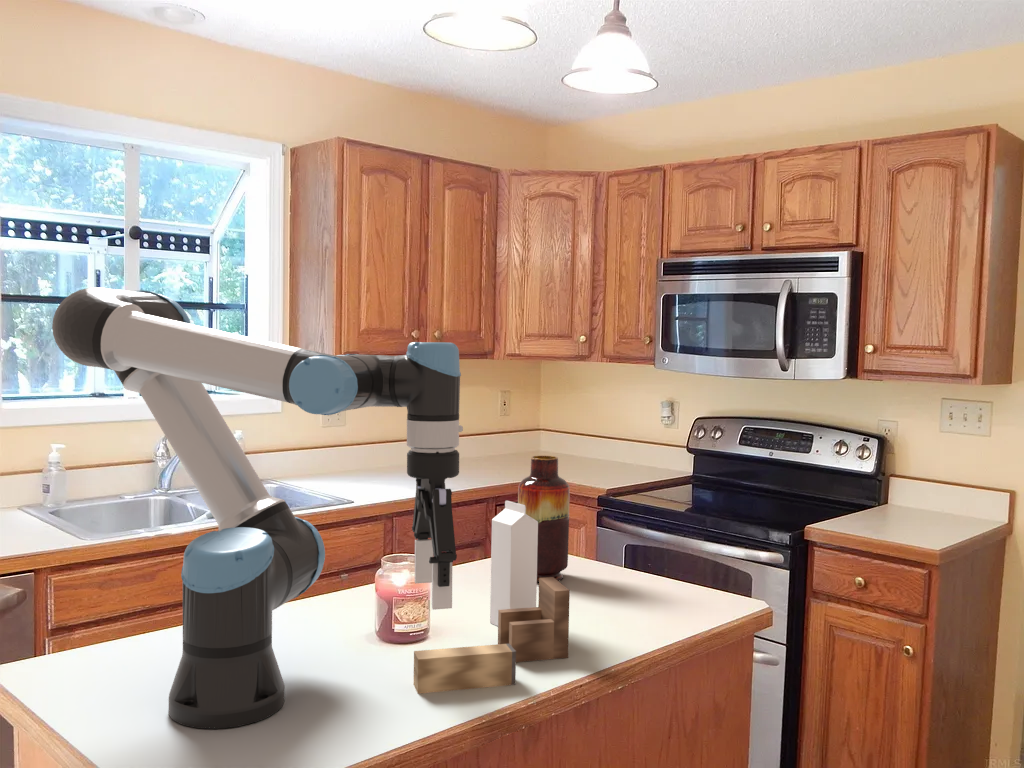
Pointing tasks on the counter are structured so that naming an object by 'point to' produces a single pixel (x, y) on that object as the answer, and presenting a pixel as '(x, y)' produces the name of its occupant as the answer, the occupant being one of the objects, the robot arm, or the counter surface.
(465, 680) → the wooden block
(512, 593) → the milk
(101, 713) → the counter surface
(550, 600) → the brown wooden blocks
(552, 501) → the vase
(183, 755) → the counter surface
